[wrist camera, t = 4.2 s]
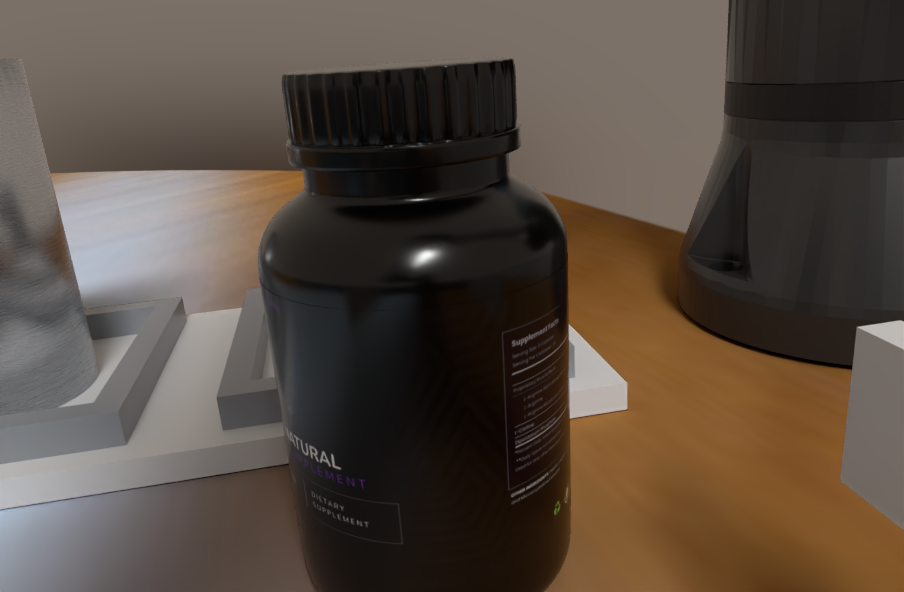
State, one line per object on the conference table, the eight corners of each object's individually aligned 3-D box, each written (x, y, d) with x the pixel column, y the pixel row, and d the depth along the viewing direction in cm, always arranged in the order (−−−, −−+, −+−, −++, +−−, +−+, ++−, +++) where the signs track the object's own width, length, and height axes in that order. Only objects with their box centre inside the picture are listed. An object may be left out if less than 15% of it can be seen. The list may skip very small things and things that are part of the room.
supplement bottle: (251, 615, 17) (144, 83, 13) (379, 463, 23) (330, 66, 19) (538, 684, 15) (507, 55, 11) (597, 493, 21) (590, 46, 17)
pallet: (518, 290, 38) (517, 250, 37) (627, 409, 25) (627, 350, 24) (-107, 372, 34) (-123, 328, 33) (-374, 569, 21) (-409, 502, 20)
